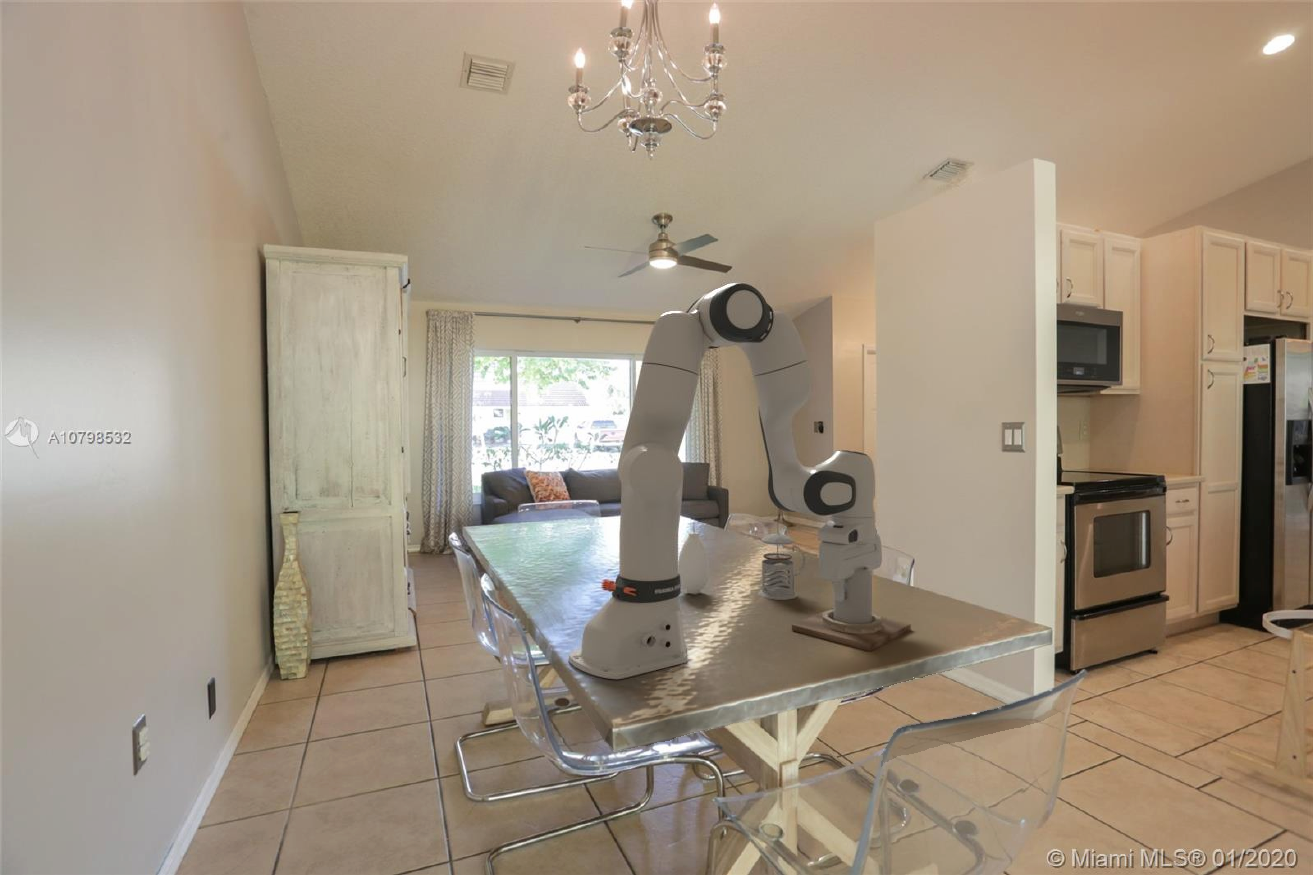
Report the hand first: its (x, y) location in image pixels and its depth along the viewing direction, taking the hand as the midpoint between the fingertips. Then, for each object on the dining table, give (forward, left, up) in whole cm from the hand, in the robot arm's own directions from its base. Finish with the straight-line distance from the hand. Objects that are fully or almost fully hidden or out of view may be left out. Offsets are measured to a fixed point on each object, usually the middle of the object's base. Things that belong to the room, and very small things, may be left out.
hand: (852, 595), depth 129 cm
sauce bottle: (-2, +42, -7) cm, 43 cm away
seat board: (0, 0, -7) cm, 7 cm away
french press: (+13, +26, -7) cm, 30 cm away
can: (0, 0, -6) cm, 6 cm away
